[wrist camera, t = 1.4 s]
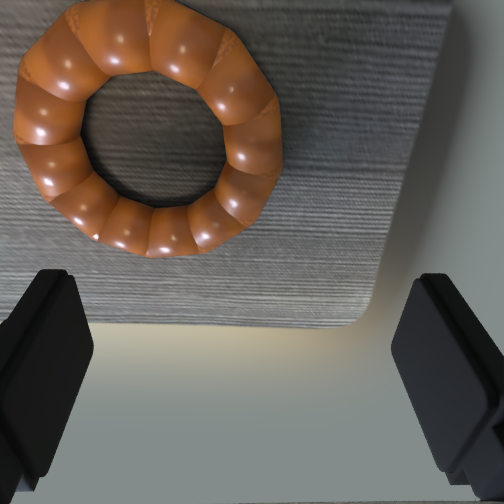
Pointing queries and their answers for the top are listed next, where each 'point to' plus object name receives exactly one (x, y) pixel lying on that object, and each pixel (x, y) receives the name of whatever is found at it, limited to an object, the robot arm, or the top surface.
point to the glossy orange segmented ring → (168, 64)
